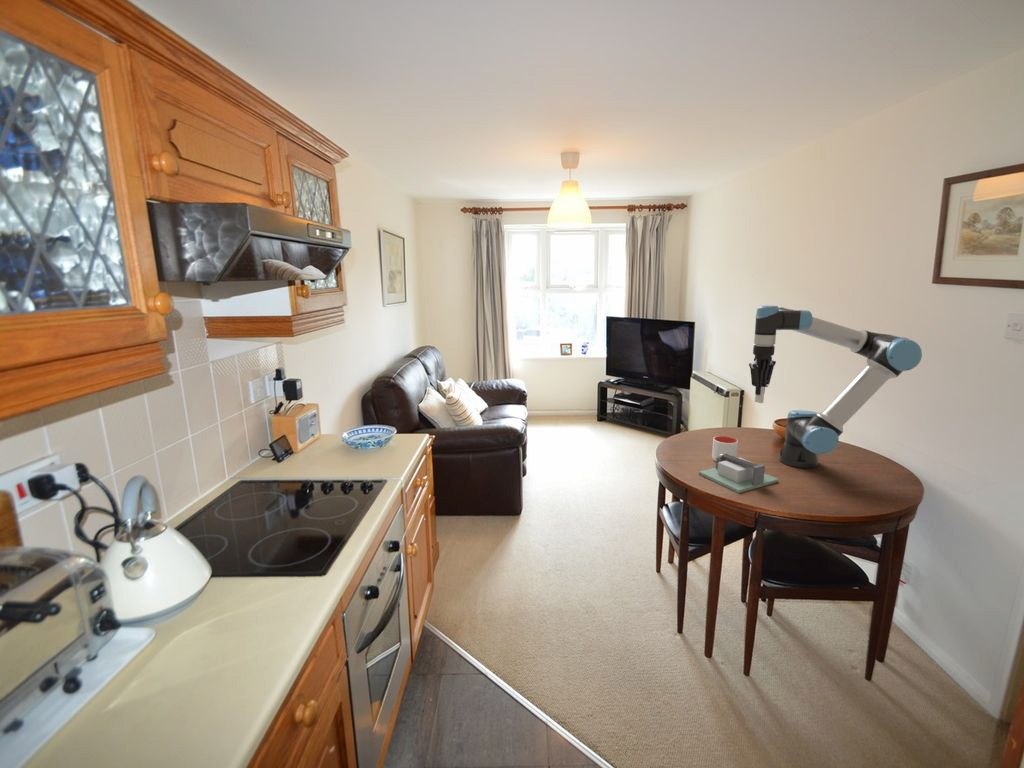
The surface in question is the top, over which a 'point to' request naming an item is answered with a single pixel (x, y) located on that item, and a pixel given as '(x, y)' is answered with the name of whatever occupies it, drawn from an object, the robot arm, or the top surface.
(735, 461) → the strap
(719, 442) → the cup
